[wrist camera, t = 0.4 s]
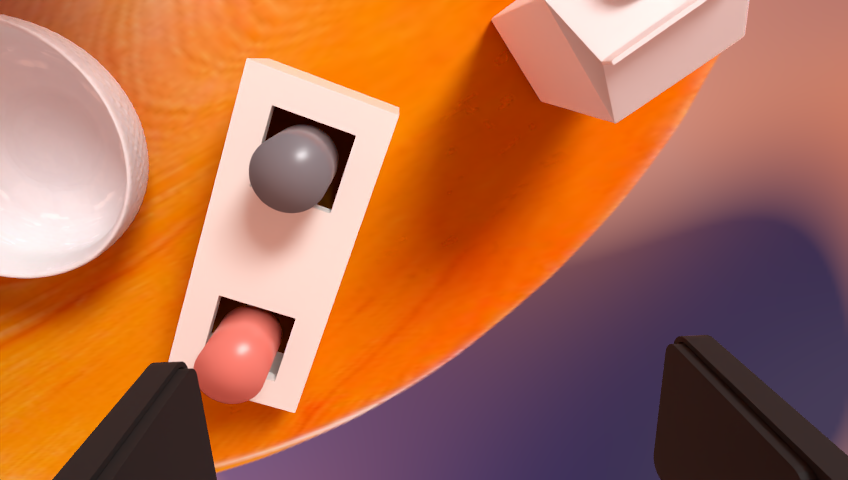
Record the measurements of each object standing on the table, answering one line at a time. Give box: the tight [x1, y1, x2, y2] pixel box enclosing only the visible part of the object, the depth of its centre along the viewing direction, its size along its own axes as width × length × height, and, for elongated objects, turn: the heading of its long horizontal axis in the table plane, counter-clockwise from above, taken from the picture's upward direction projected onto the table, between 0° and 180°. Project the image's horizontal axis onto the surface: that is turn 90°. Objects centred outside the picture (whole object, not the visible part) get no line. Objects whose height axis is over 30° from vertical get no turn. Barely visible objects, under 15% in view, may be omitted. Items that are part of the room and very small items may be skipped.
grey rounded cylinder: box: [249, 124, 339, 213], centre depth 34 cm, size 5×5×6 cm
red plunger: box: [194, 306, 282, 404], centre depth 38 cm, size 5×5×6 cm
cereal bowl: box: [0, 14, 149, 278], centre depth 37 cm, size 17×17×7 cm
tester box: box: [168, 58, 399, 413], centre depth 40 cm, size 10×24×6 cm, turn 160°
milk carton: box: [492, 0, 749, 123], centre depth 30 cm, size 7×7×19 cm
